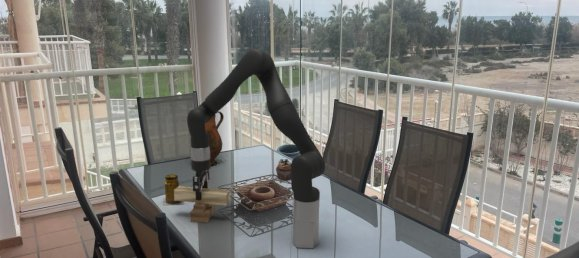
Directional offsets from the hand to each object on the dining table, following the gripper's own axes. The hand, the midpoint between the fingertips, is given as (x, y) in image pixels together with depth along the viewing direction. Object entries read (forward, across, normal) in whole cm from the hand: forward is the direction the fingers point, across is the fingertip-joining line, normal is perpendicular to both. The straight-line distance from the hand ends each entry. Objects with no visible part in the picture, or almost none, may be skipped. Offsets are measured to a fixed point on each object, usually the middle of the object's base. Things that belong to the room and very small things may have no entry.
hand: (202, 195), depth 173 cm
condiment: (+9, +14, +17) cm, 24 cm away
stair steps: (+9, 0, 0) cm, 9 cm away
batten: (+2, 0, 0) cm, 2 cm away
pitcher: (+9, +70, +17) cm, 73 cm away
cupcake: (+9, +51, -28) cm, 59 cm away
